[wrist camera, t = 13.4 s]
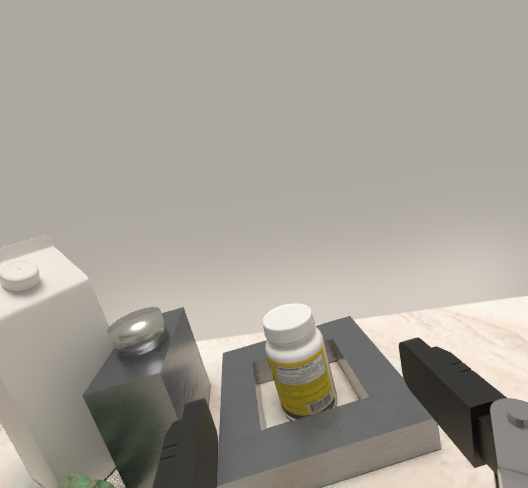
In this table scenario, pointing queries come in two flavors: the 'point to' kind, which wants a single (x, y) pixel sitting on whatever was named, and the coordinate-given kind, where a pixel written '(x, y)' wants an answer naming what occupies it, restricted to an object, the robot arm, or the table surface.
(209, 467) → the robot arm
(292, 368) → the supplement bottle
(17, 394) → the milk carton
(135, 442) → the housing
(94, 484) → the decorative artifact
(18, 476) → the table surface
